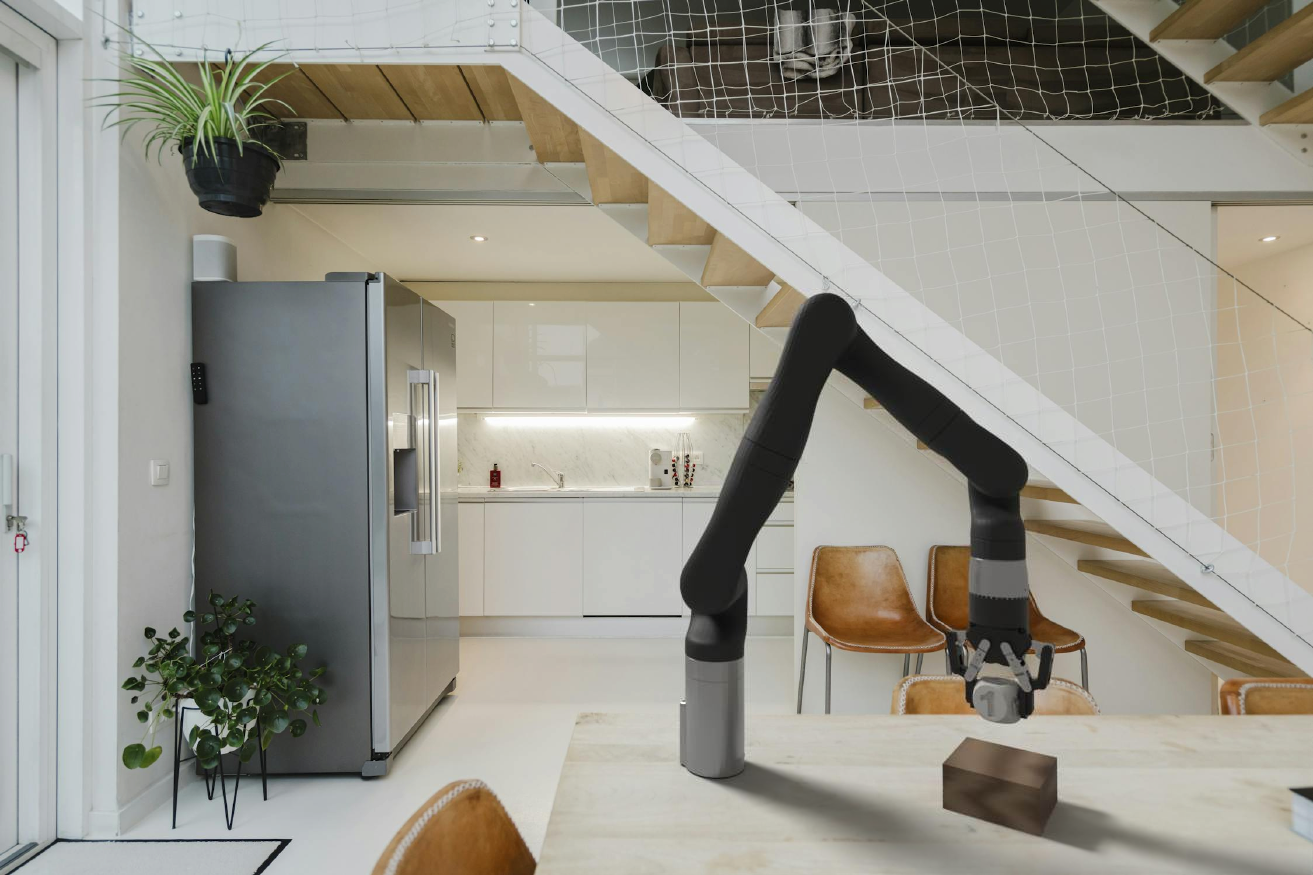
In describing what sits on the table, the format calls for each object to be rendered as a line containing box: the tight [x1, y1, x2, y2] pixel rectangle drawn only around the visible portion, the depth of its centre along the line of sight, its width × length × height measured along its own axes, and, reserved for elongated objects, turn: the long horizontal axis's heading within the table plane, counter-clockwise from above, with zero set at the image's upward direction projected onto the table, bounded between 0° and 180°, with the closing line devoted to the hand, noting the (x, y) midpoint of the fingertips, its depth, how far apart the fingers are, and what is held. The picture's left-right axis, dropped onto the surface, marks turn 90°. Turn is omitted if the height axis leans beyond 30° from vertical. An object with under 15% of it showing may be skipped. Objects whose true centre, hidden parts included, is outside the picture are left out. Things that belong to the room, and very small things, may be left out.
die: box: [973, 675, 1022, 725], centre depth 101 cm, size 5×5×5 cm
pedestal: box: [941, 736, 1059, 837], centre depth 101 cm, size 12×12×6 cm
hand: (999, 711), depth 101 cm, fingers closed on die, 6 cm apart
